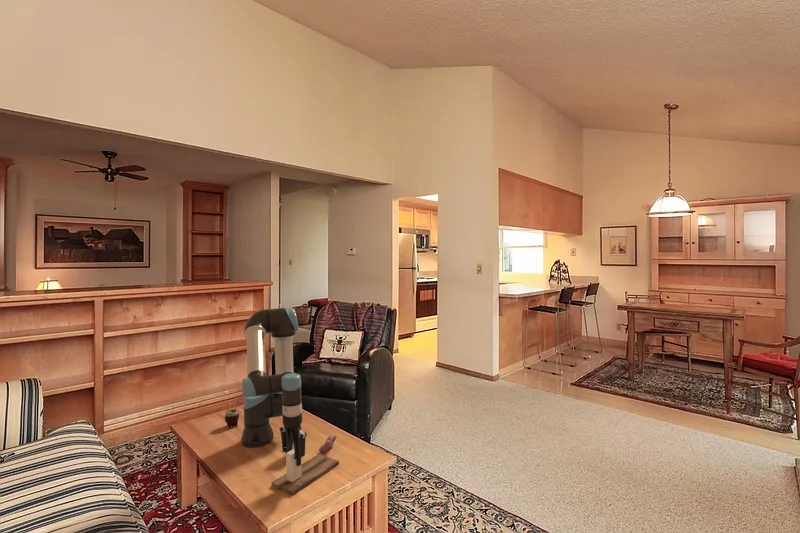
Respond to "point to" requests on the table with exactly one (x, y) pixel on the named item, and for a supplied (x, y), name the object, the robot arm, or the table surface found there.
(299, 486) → the board
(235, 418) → the mate gourd
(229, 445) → the table surface
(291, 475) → the fader knob
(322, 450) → the video game controller
